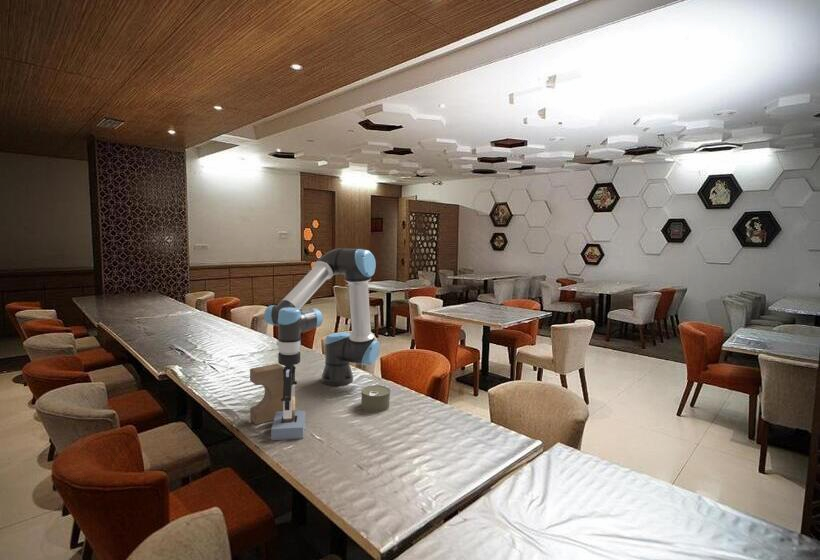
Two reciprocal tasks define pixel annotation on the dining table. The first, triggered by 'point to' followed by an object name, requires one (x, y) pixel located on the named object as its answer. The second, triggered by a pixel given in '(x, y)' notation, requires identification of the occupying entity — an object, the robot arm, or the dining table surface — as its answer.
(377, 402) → the can
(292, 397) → the peg
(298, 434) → the board
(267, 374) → the decorative block
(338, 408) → the dining table surface
